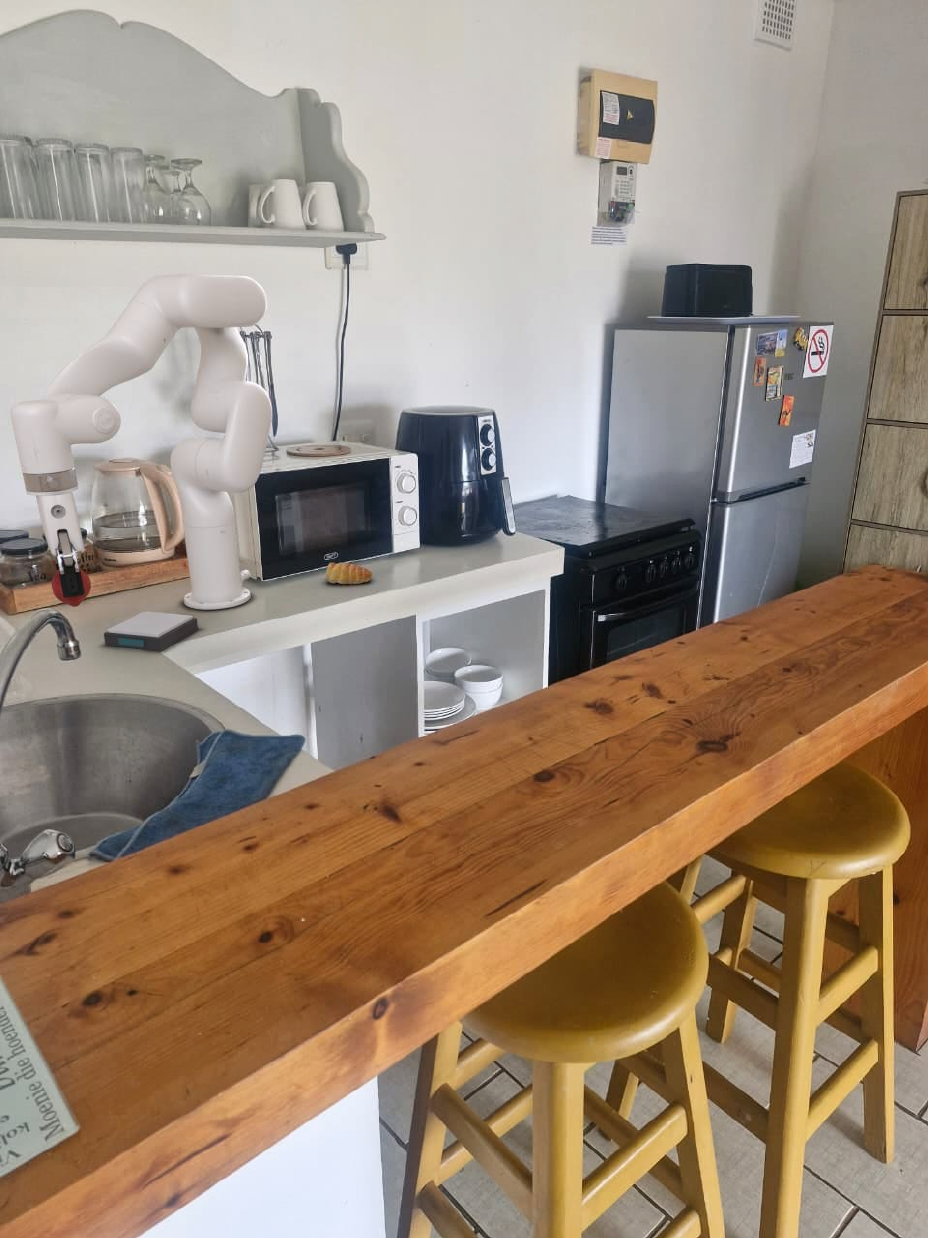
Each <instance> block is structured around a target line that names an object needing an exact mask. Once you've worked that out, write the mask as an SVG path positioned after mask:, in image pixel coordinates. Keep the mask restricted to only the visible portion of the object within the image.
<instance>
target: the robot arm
mask: <svg viewBox="0 0 928 1238" xmlns="http://www.w3.org/2000/svg"><path fill="white" fill-rule="evenodd" d="M267 308H268V299H267V294H266V292H265V290H264V288H263V287H262V285H261V284H260V283H259V282H258V281H257V280H255V279H254V278H252V277H249V276H247V275H215V274H197V273H182V274H180V273H179V274H164V275H155V276H153V277H149V278H147V280H145V282H143V284H142V285H141V286H140V287H139V289H138V290H137V291H136V293H135V294H134V296H133V297H132V298H131V300H130V301H129V303H127V305H126V307H125V308H124V310H123V311H122V312H121V314H119V316H118V318H117V319H116V321H115V322H114V324H113V325H112V326H111V328H110V329H109V331H107V333H106V334H105V335H104V337H102V338H101V339H99V340H98V341H96V342H95V343H93V344H92V345H91V346H89V347H88V348H87V349H85V350H84V351H83V352H82V353H80V354H79V355H78V356H76V357H75V358H73V360H71V361H70V362H68V364H66V366H64V367H63V368H62V369H61V371H60V372H58V374H57V375H56V376H55V377H54V379H53V380H52V382H51V383H50V385H49V386H48V387H47V389H46V390H45V391H44V393H43V395H42V396H41V398H40V399H37V400H24V401H20V402H17V403H14V404H13V405H12V406H11V408H10V418H11V425H12V428H13V433H14V439H15V443H16V447H17V452H18V458H19V463H20V468H21V472H22V478H23V482H24V487H25V492H26V495H27V496H34V497H35V499H36V503H37V507H38V514H39V518H40V521H41V527H42V530H43V533H44V536H45V540H46V543H47V546H48V548H49V550H50V553H51V555H52V556H53V557H54V558H55V562H56V563H54V564H55V569H56V572H57V571H58V570H59V569H60V574H59V578H60V583H61V588H62V593H63V597H64V598H69V597H75V596H81V595H84V594H85V592H84V586H83V581H82V576H81V571H79V568H80V567H79V564H78V557H77V553H76V552H80V554H84V552H85V551H86V549H85V545H84V540H83V539H84V538H83V535H82V529H81V526H80V520H79V519H80V518H79V515H78V510H77V506H76V501H75V498H74V494H73V492H75V491H77V490H79V483H78V478H77V473H76V467H75V462H74V456H73V450H72V445H79V444H82V445H83V444H84V445H85V444H86V445H87V444H91V445H92V444H93V445H94V444H102V443H105V442H107V441H110V440H111V439H113V437H115V436H116V434H117V433H118V432H119V430H120V428H121V424H122V418H121V414H120V412H119V409H118V408H117V407H116V405H115V404H114V403H113V402H112V401H110V400H108V399H107V398H105V397H103V396H102V395H103V394H105V393H106V392H107V391H109V390H111V389H112V388H114V387H117V386H118V385H121V384H124V383H127V382H128V381H132V380H134V379H136V378H139V377H140V376H143V375H144V374H146V373H148V372H150V371H151V370H152V369H153V368H154V366H155V365H156V363H157V362H158V360H159V359H160V357H161V356H162V354H163V353H164V351H165V350H166V348H167V347H168V345H169V344H170V343H171V341H172V340H173V338H174V337H175V336H176V334H177V332H178V331H179V330H180V329H182V328H194V330H195V332H196V334H197V336H198V340H199V342H200V350H201V353H200V360H199V367H198V371H197V374H196V380H195V383H194V388H193V393H192V397H191V402H190V417H191V420H192V422H193V423H194V425H195V426H197V427H198V428H199V429H202V431H203V430H204V431H207V432H211V433H218V434H219V433H220V434H224V437H223V438H220V437H211V436H191V437H187V438H183V439H182V440H180V441H179V442H178V443H176V445H175V446H174V447H173V449H172V451H171V454H170V461H169V462H170V463H169V464H170V465H169V466H170V471H171V475H172V478H173V482H174V484H175V487H176V491H177V494H178V498H179V503H180V509H181V517H182V524H183V533H184V534H183V535H184V542H185V550H186V551H185V552H186V558H187V559H186V560H187V566H188V575H189V582H190V590H191V591H189V592H188V593H187V594H185V595H184V596H183V604H184V605H185V606H186V607H188V608H190V609H195V610H204V611H205V610H206V611H207V610H209V611H210V610H223V609H228V608H234V607H237V606H240V605H243V604H245V603H247V602H249V600H250V599H251V597H252V595H251V591H250V590H249V589H248V588H246V587H243V586H244V585H243V584H244V582H245V581H246V580H248V579H250V578H251V572H250V570H248V569H243V570H241V568H240V558H239V548H238V538H237V529H236V515H235V510H234V505H233V502H232V500H231V497H230V495H229V493H234V494H239V493H245V492H247V491H249V490H250V489H252V488H253V487H254V486H255V484H256V483H257V481H258V479H259V477H260V474H261V471H262V468H263V465H264V464H263V463H264V460H265V454H266V449H267V445H268V440H269V436H270V431H271V426H272V422H273V407H272V401H271V399H270V396H269V394H268V392H267V391H266V390H265V389H264V388H263V387H262V386H261V385H260V384H258V383H256V382H253V381H247V380H246V379H247V372H248V366H249V365H248V364H249V355H248V350H247V347H246V344H245V342H244V340H243V338H242V335H241V334H240V332H239V330H238V328H250V327H254V326H255V325H258V324H259V323H260V322H261V321H262V320H263V318H264V317H265V315H266V313H267Z"/></svg>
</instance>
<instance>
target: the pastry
mask: <svg viewBox="0 0 928 1238" xmlns="http://www.w3.org/2000/svg"><path fill="white" fill-rule="evenodd" d="M372 576H373V572H372V570H370V569H368V568H366V567H363V566H360V565H357V564H352V563H350V562H339V563H335V562H329V563H328V565H327V568H326V572H325V578H324V579H325V581H327V583H330V584H336V583H338V584H341V585H346V584H347V585H348V584H349V585H359V584H362V583H368V582H369V581H370V580H371V579H372Z"/></svg>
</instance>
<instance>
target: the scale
mask: <svg viewBox="0 0 928 1238" xmlns="http://www.w3.org/2000/svg"><path fill="white" fill-rule="evenodd" d="M197 631H199V624H198V618H197V617H193V615H190V614H188V615H187V614H178V613H167V612H157V611H146V610H144V611H142V612H140V613H138V614H136V615H134V616H132V617H129V618H127V619H125V620H123V621H122V622H120V623H117V624H116V625H113V626H111V627H109V628H107V631H105V632H103V638H104V644H105V646H106V647H107V646H108V647H118V648H128V649H136V650H146V651H156V652H162V651H164V650H166V649H168V648H169V647H171V646H174V645H175V644H177V643H178V642H180V641H181V640H183V639H185V638H187V637H188V636H190V635H192V634H194V633H196V632H197Z"/></svg>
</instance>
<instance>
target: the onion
mask: <svg viewBox="0 0 928 1238" xmlns="http://www.w3.org/2000/svg"><path fill="white" fill-rule="evenodd" d="M79 571H81V576H82V581H83V586H84V592H85V594H84V595H81V596H75V597H69V598H64V597H63V593H62V588H61V583H60V578H59V574H60V569H59V570H58V571H57V570H56V572H55V574H54V575H53V577H52V580H51V589H52V592H53V595H54V596H55V598H56V599H57V600H58V601H60V602H61V603H64V604H65V605H68V606H70V607H74V608H75V607H79V606H80V605H81V604H82V602H83V601H84V600H85V599H86V598H87V597H88V595H89V594H90V592H91V589H92V583H91V579H90V577H89V575H88V574H87V573H86V571H84V570H83V569H81V568H80V567H79Z"/></svg>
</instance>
